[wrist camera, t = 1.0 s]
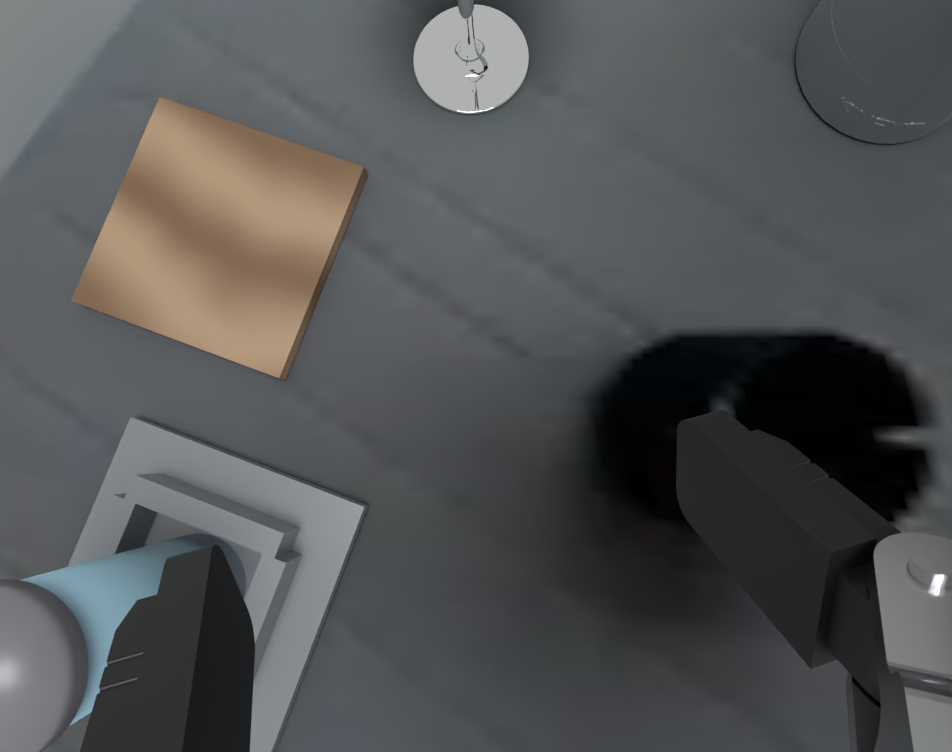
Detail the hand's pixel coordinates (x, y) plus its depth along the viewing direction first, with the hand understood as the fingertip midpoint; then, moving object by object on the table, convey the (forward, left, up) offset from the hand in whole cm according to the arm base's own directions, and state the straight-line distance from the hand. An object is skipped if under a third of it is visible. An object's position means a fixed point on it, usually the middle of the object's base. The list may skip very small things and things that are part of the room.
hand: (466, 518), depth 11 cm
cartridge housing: (+10, -12, -23) cm, 27 cm away
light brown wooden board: (-7, -18, -23) cm, 30 cm away
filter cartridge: (+10, -12, -22) cm, 27 cm away
